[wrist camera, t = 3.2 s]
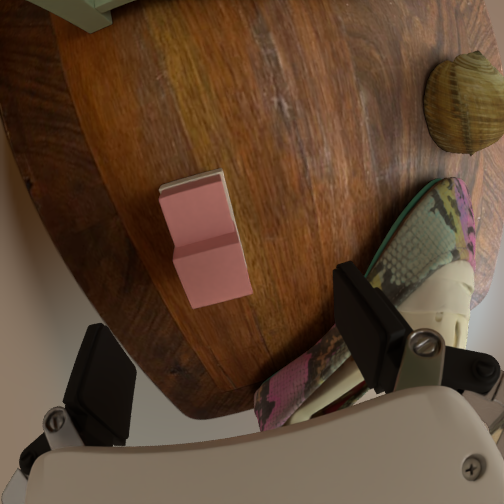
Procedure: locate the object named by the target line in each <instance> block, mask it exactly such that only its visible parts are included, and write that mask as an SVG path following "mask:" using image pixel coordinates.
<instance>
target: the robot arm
mask: <svg viewBox="0 0 504 504" xmlns="http://www.w3.org/2000/svg"><path fill="white" fill-rule="evenodd" d="M333 289H334V319H335V324H336V327H337V329H338V331H339V333H340V334H341V336H342V338H343V340H344V342H345V344H346V346H347V347H348V349H349V351H350V353H351V355H352V357H353V359H354V361H355V363H356V365H357V366H358V368H359V370H360V372H361V374H362V376H363V378H364V380H365V382H366V384H367V386H368V388H369V389H372V388H374V390H375V392H376V394H379V393H381V392H384V391H385V393H386V394H385V395H382V396H379V397H376V398H374V399H370V400H367V401H364V402H362V403H359V404H356V405H353V406H350V407H348V408H345V409H342V410H339V411H335V412H332V413H329V414H326V415H323V416H319V417H316V418H313V419H309V420H306V421H302V422H299V423H295V424H291V425H288V426H284V427H280V428H275V429H271V430H267V431H262V432H257V433H253V434H247V435H242V436H237V437H231V438H225V439H218V440H211V441H204V442H196V443H186V444H176V445H162V446H142V447H141V446H139V447H113V445H114V446H125V443H126V439H128V437H129V428H130V419H131V410H132V402H133V395H134V388H135V380H136V373H137V372H136V368H135V366H134V364H133V363H132V361H131V360H130V359H129V357H128V356H127V355H126V353H125V352H124V350H123V349H122V347H121V346H120V345H119V343H118V342H117V340H116V339H115V337H114V336H113V334H112V333H111V331H110V330H109V328H108V327H107V326H104V324H102V323H97V324H92V325H89V326H88V328H87V331H86V334H85V336H84V339H83V341H82V344H81V347H80V349H79V352H78V355H77V358H76V361H75V364H74V367H73V370H72V373H71V376H70V379H69V382H68V385H67V388H66V392H65V395H64V398H63V403H64V404H65V408H63V407H61V406H57V407H53V408H52V409H50V410H49V411H48V412H47V413H46V415H45V416H44V419H43V430H44V433H43V434H41V435H40V436H39V437H38V438H37V439H36V440H35V441H34V442H32V443H31V444H30V445H29V446H28V447H27V448H26V449H24V450H23V452H22V453H21V455H20V459H19V465H20V468H21V470H20V469H19V468H17V470H16V472H15V473H14V475H13V476H12V478H11V480H10V481H9V483H8V484H7V486H6V488H5V490H4V491H3V493H2V504H504V371H502V370H500V365H499V363H498V362H497V360H496V359H495V358H494V357H492V356H491V355H488V354H485V353H480V352H475V351H470V350H465V349H460V348H456V347H451V346H446V345H445V340H444V338H443V336H442V335H441V334H440V333H439V332H437V331H435V330H433V329H429V328H420V329H416V330H413V329H412V328H411V326H410V325H409V324H408V323H407V321H406V320H405V319H404V317H403V316H402V315H401V314H400V312H399V311H398V310H397V309H396V307H395V306H394V305H393V304H392V302H391V301H390V300H389V299H388V297H387V296H386V295H385V294H384V293H383V291H382V290H381V289H380V288H378V287H375V288H373V286H372V285H371V284H370V283H369V281H368V280H367V279H366V278H365V277H364V275H363V274H362V273H361V272H360V271H359V269H358V268H357V267H356V266H355V265H354V263H353V262H352V261H348V262H345V263H341V264H338V265H337V267H336V269H334V270H333ZM482 421H483V422H485V423H486V424H487V426H488V428H489V432H488V430H487V428H486V427H485V425H484V423H483V422H482Z"/></svg>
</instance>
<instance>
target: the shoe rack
mask: <svg viewBox="0 0 504 504" xmlns="http://www.w3.org/2000/svg"><path fill="white" fill-rule="evenodd" d="M27 1H29V2H32V3H34V4H36V5H38V6H40V7H42V8H44V9H46V10H48V11H50V12H52V13H54V14H56V15H57V16H59V17H61V18H63V19H65V20H67V21H69V22H70V23H72V24H74V25H76V26H78V27H79V28H81V29H83V30H85V31H86V32H88V33H93V32H95V31H97V30H100V29H102V28H104V27H107V26H109V25H111V24H112V17H111V12H110V10H111V9H113V8H116V7H118V6H121V5H124V4H126V3H129V2H132V1H135V0H27Z"/></svg>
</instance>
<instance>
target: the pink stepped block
mask: <svg viewBox="0 0 504 504" xmlns="http://www.w3.org/2000/svg"><path fill="white" fill-rule="evenodd" d="M159 192H160V197H159V203H160V205H161V208H162V211H163V214H164V217H165V220H166V223H167V226H168V228H169V231H170V234H171V237H172V240H173V242H174V245H175V247H174V253H173V260H172V261H173V264H174V266H175V269H176V271H177V273H178V276H179V278H180V281H181V283H182V286H183V288H184V290H185V293H186V295H187V298H188V300H189V302H190V305H191V307H192V308H193V309H195V308H199V307H203V306H207V305H211V304H215V303H219V302H223V301H227V300H231V299H235V298H239V297H242V296H246V295H250V294H252V293H253V291H252V287H251V283H250V279H249V276H248V272H247V265H246V261H245V257H244V253H243V249H242V245H241V241H240V237H239V233H238V229H237V226H236V222H235V218H234V214H233V210H232V206H231V202H230V198H229V194H228V190H227V186H226V182H225V178H224V174H223V170H222V168H219V169H215V170H212V171H208V172H204V173H201V174H197V175H193V176H190V177H186V178H183V179H180V180H176V181H173V182H169V183H166V184H163V185H161V186H160V188H159Z"/></svg>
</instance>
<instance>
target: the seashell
mask: <svg viewBox="0 0 504 504" xmlns="http://www.w3.org/2000/svg"><path fill="white" fill-rule="evenodd" d="M424 108H425V110H424V113H425V117H426V121H427V125H428V127H429V131H430V134H431V136H432V138H433V140H434V141H435V142H436V144H437V145H438V146H439V147H441V148H442V150H445V151H446V152H451V153H462V154H465V153H466V154H470V156H471V155H473V154H474V153H475V152H477V151H479V150H482V149H484V148H486V147H488V146H490V145H492V144H493V143H495V142H497V141H498V140H499V139H500V138H501V137H502V136H503V134H504V77H503V76H502V75H501V74H500V73H499V72H498V70H497V69H496V68H495V67H493V66H492V65H491V63H490V62H489V61H488V60H487V59H486V58H485V57H484V56H483V55H482V54H481V52H480V51H475V52H472V53H468V54H462V55H459V56H457V57H456V58H455V60H454V61H453V62H450V61H448V60H446V61H444V62H443V63H441V64H439V65H437V66H436V68H435V69H434V70H433V72H431V74H430V78H429V79H428V81H427V87H426V89H425V96H424Z"/></svg>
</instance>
